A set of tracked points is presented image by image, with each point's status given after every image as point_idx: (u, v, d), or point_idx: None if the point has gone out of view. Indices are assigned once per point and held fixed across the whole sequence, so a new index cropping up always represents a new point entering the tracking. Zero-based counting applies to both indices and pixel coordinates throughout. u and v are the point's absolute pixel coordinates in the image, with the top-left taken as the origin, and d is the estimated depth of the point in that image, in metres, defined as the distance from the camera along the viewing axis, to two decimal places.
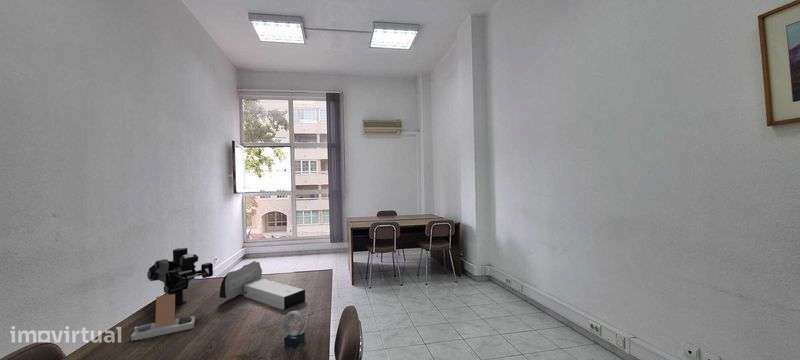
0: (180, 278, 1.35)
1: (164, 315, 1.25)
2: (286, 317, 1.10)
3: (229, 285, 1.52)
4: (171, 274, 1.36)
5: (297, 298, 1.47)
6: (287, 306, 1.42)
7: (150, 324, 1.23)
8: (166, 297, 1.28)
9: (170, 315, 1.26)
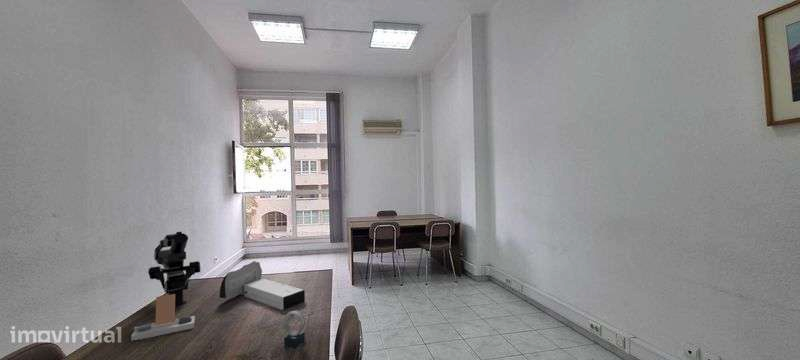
0: (161, 283, 1.38)
1: (164, 315, 1.25)
2: (286, 317, 1.10)
3: (229, 285, 1.52)
4: (156, 273, 1.38)
5: (296, 299, 1.46)
6: (286, 306, 1.42)
7: (150, 324, 1.23)
8: (166, 297, 1.28)
9: (170, 315, 1.26)
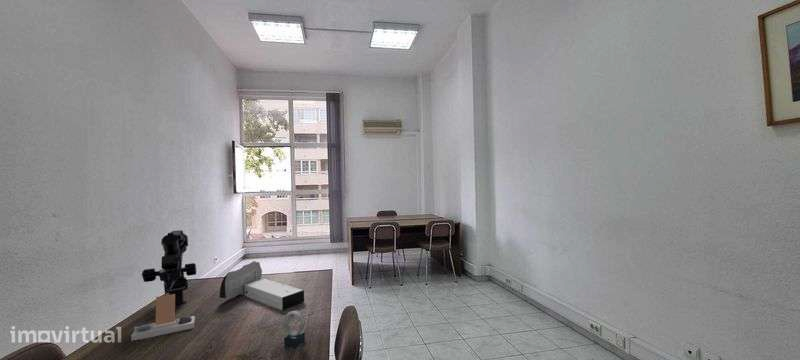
0: (165, 284, 1.34)
1: (164, 315, 1.25)
2: (286, 317, 1.10)
3: (229, 285, 1.52)
4: (160, 274, 1.35)
5: (296, 299, 1.46)
6: (285, 307, 1.42)
7: (150, 324, 1.23)
8: (166, 297, 1.28)
9: (170, 315, 1.26)
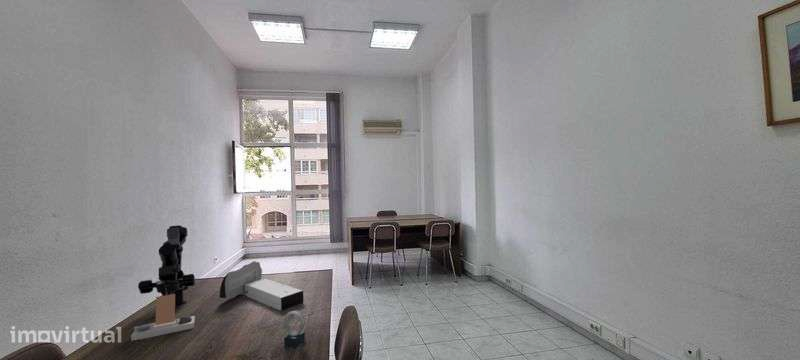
0: None
1: (164, 315, 1.25)
2: (286, 317, 1.10)
3: (229, 285, 1.52)
4: (157, 286, 1.29)
5: (295, 300, 1.45)
6: (284, 307, 1.41)
7: (150, 324, 1.23)
8: (166, 297, 1.28)
9: (170, 315, 1.26)
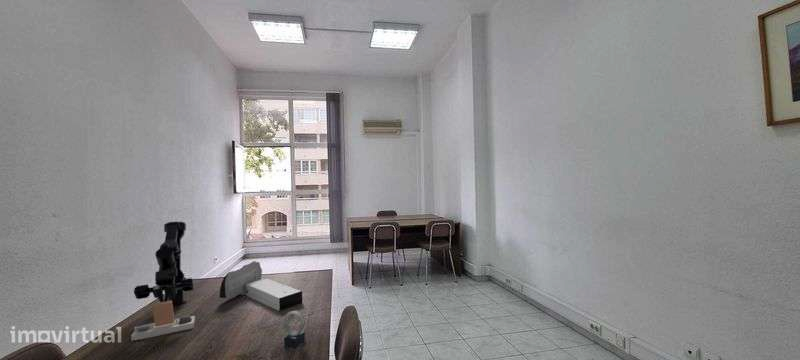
0: None
1: (163, 319, 1.23)
2: (286, 317, 1.10)
3: (229, 285, 1.52)
4: (154, 291, 1.24)
5: (293, 300, 1.45)
6: (282, 307, 1.41)
7: (150, 324, 1.23)
8: (163, 305, 1.21)
9: (169, 318, 1.24)
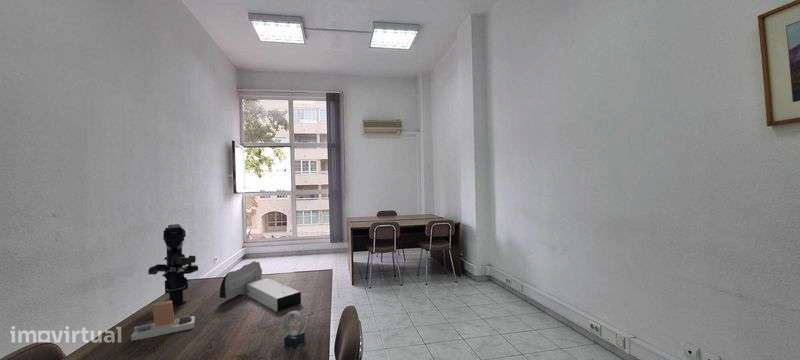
0: (173, 283, 1.38)
1: (163, 319, 1.23)
2: (286, 317, 1.10)
3: (229, 285, 1.52)
4: (171, 272, 1.37)
5: (292, 301, 1.44)
6: (280, 308, 1.40)
7: (150, 324, 1.23)
8: (163, 305, 1.21)
9: (169, 318, 1.24)
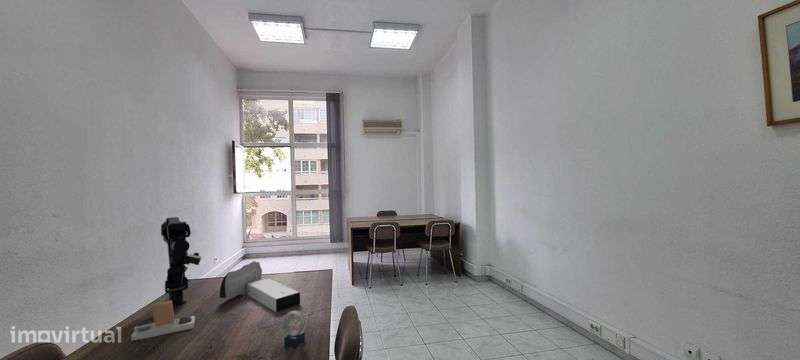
0: (180, 280, 1.42)
1: (163, 319, 1.23)
2: (286, 317, 1.10)
3: (229, 285, 1.52)
4: None
5: (291, 301, 1.44)
6: (279, 308, 1.40)
7: (150, 324, 1.23)
8: (163, 305, 1.21)
9: (169, 318, 1.24)
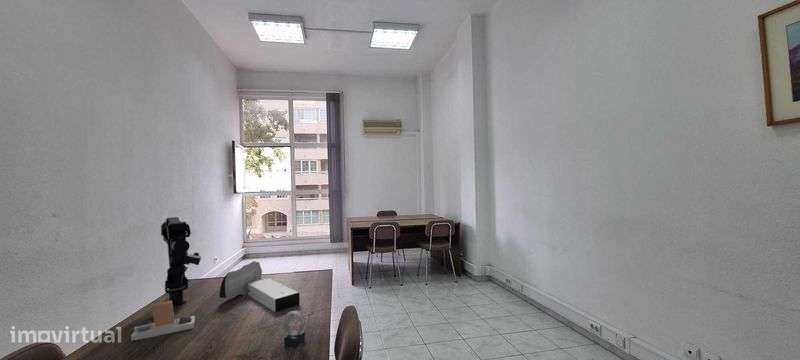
0: (180, 280, 1.42)
1: (163, 319, 1.23)
2: (286, 317, 1.10)
3: (229, 285, 1.52)
4: None
5: (290, 301, 1.43)
6: (278, 308, 1.40)
7: (150, 324, 1.23)
8: (163, 305, 1.21)
9: (169, 318, 1.24)
